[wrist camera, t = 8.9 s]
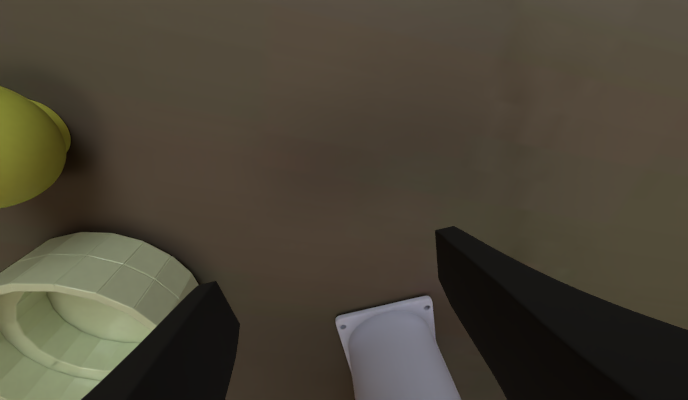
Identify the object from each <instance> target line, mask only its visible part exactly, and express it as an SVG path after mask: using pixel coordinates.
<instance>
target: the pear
mask: <svg viewBox="0 0 688 400" xmlns="http://www.w3.org/2000/svg"><path fill="white" fill-rule="evenodd" d="M70 144H71V138H70V133H69V130H68V128H67V126H66V124H65V123H64V122H63V120H62V119H61V118H60V117H59V116H58V115H57V114H56V113H55V112H54V111H52V110H51V109H50V108H48V107H47V106H45V105H43V104H41V103H38V102H36V101H33V100H29V99H27V98H25V97H24V96H22V95H20V94H18V93H16V92H14V91H11V90H9V89H7V88H4V87H2V86H0V208H4V207H8V206H12V205H16V204H19V203H22V202H25V201H27V200H30V199H32V198H34V197H36V196H37V195H39V194H41V193H42V192H44V191H45V190H47V189H48V188H49V187H50V186H51V185H52V184H53V183H54V182H55V181H56V180H57V178H58V177H59V176H60V174H61V172H62V170H63V168H64V165H65V161H66V153H67V151H68V150H69V148H70Z"/></svg>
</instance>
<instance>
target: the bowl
mask: <svg viewBox="0 0 688 400" xmlns="http://www.w3.org/2000/svg"><path fill="white" fill-rule="evenodd" d="M198 285H199V284H198V283H197V281H196V279H195V278H194V276H193V274H192V273H191V272H190V271H189V270H188V269H186V268H185V267H184V266H183V265H182V264H181V263H180V262H179V261H177V260H176V259H175V258H174V257H173V256H171V255H169V254H167V253H165V252H163V251H161V250H160V249H158V248H156V247H154V246H152V245H150V244H148V243H146V242H144V241H141V240H137V239H134V238H130V237H126V236H122V235H118V234H115V233H99V232H78V233H74V234H69V235H65V236H61V237H57V238H52V239H49V240H47V241H46V242H44V243H43V244H41V245H40V246H38V247H37V248H35V249H34V250H32V251H31V252H29V253H28V254H26V255H25V256H23V257H22V258H20V259H19V260H17V261H16V262H14V263H13V264H11V265H10V266H8V267H7V268H5V269H4V270H3V271H1V272H0V400H81V399H82V398H83V397H84V396H85V395H87V394H88V393H89V392H90V391H91V390H92V389H93V388H94V387H95V386H96V385H97V384H99V383H100V382H101V381H102V380H103V379H104V378H105V377H106V376H107V375H108V374H109V373H110V372H111V371H112V370H113V369H114V368H115V367H116V366H117V365H118V364H119V363H120V362H121V361H122V360H123V359H124V358H125V357H126V356H128V355H129V354H130V353H131V352H132V351H133V350H134V349H135V348H136V347H137V346H138V345H139V344H140V343H141V342H142V341H143V340H144V339H145V338H146V337H147V336H148V335H149V334H150V333H151V332H152V330H153V329H154V328H155V327H156V326H157V325H158V324H159V323H160V322H161V321H162V320H163V319H164V318H165V317H166V316H167V315H168V314H169V313H170V312H171V311H172V310H173V309H174V308H175V307H176V306H177V305H178V304H179V303H180V302H181V301H182V300H183V299H184V298H185V297H186V296H187V295H188V294H189V293H190V292H191V291H192V290H193V289H194V288H195V287H197V286H198Z"/></svg>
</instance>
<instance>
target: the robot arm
mask: <svg viewBox="0 0 688 400" xmlns="http://www.w3.org/2000/svg"><path fill="white" fill-rule="evenodd" d="M435 235H436V249H437V264H438V278H439V280H440V283H441V285H442V287H443V289H444V291H445V294H446V296H447V298H448V300H449V302H450V304H451V306H452V308H453V310H454V311H455V313H456V315H457V316H458V318H459V320H460V321H461V323H462V324H463V326H464V328H465V329H466V331H467V333H468V334H469V336H470V337H471V339H472V341H473V342H474V344H475V346H476V347H477V349H478V350H479V352H480V354H481V355H482V357H483V358H484V360H485V362H486V363H487V365H488V367H489V368H490V370H491V371H492V373H493V375H494V376H495V378H496V380H497V382H498V383H499V385H500V387H501V389H502V390H503V392H504V394H505V396H506V398H507V400H688V330H686V329H683V328H680V327H677V326H674V325H671V324H668V323H665V322H663V321H660V320H657V319H654V318H651V317H648V316H645V315H642V314H640V313H637V312H634V311H631V310H629V309H626V308H623V307H621V306H618V305H615V304H613V303H610V302H608V301H605V300H603V299H600V298H598V297H595V296H593V295H590V294H588V293H586V292H583V291H581V290H578V289H576V288H574V287H571V286H569V285H567V284H564V283H562V282H560V281H558V280H556V279H553V278H551V277H549V276H547V275H545V274H543V273H541V272H539V271H537V270H534V269H532V268H530V267H528V266H526V265H524V264H522V263H520V262H519V261H517V260H515V259H513V258H511V257H509V256H507V255H505V254H503V253H501V252H500V251H498V250H496V249H494V248H492V247H491V246H489V245H487V244H485V243H483V242H482V241H480V240H478V239H476V238H475V237H473V236H471V235H469V234H467V233H466V232H464V231H462V230H460V229H458V228H457V227H455V226H452V227H448V228H443V229H439V230H435ZM335 322H336V326H337V330H338V333H339V336H340V339H341V342H342V345H343V348H344V351H345V354H346V358H347V361H348V364H349V367H350V370H351V373H352V379H353V387H354V395H355V400H461V398H460V395H459V393H458V391H457V389H456V386H455V384H454V382H453V380H452V377H451V375H450V373H449V370H448V368H447V366H446V364H445V361H444V359H443V357H442V355H441V352H440V350H439V348H438V345H437V343H436V338H435V326H434V315H433V303H432V300H431V298H430V297H429V296H421V297H417V298H413V299H408V300H404V301H400V302H395V303H391V304H387V305H382V306H378V307H374V308H369V309H365V310H361V311H356V312H352V313H348V314H343V315H340V316H337V317H336V319H335ZM239 327H240V324H239V322H238V320H237V318H236V316H235V314H234V313H233V311H232V309H231V307H230V305H229V304H228V302H227V300H226V298H225V296H224V294H223V293H222V291H221V289H220V287H219V285H218V284H217V282H216V281H215V282H210V283H206V284H202V285H198V286H197V287H195V288H194V289H193V290H192V291H191V292H190V293H189V294H188V295H187V296H186V297H185V298H184V299H183V300H182V301H181V302H180V303H179V304H178V305H177V306H176V307H175V308H174V309H173V310H172V311H171V312H170V313H169V314H168V315H167V316H166V317H165V318H164V319H163V320H162V321H161V322H160V323H159V324H158V325H157V326H156V327H155V328H154V329H153V330H152V332H151V333H150V334H149V335H148V336H147V337H146V338H145V339H144V340H143V341H142V342H141V343H140V344H139V345H138V346H137V347H136V348H135V349H134V350H133V351H132V352H131V353H130V354H129V355H128V356H126V357H125V358H124V359H123V360H122V361H121V362H120V363H119V364H118V365H117V366H116V367H115V368H114V369H113V370H112V371H111V372H110V373H109V374H108V375H107V376H106V377H105V378H104V379H103V380H102V381H101V382H100V383H99V384H97V385H96V386H95V387H94V388H93V389H92V390H91V391H90V392H89V393H88V394H87V395H85V396H84V397H83V398H82V399H81V400H225V397H226V393H227V389H228V386H229V382H230V378H231V374H232V370H233V366H234V362H235V358H236V351H237V344H238V336H239Z"/></svg>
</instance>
